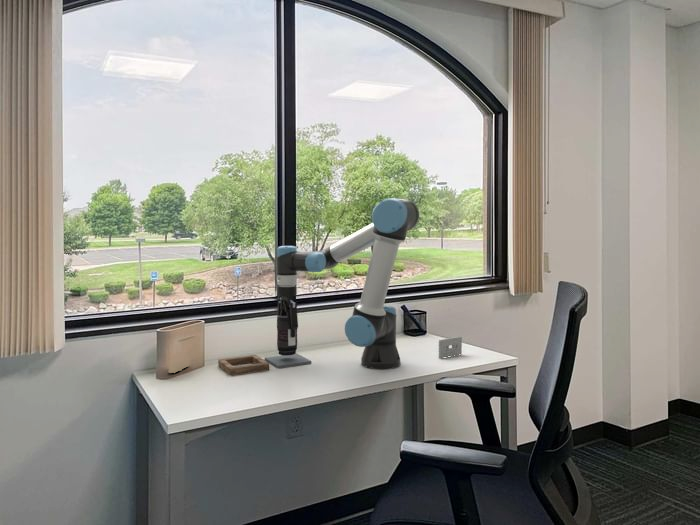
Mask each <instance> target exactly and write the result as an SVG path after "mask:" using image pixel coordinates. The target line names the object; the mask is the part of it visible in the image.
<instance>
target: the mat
mask: <svg viewBox="0 0 700 525" xmlns="http://www.w3.org/2000/svg"><path fill="white" fill-rule="evenodd" d="M264 360H265V361H266V362H268V363H269V365H272V366H273V367H275V368H276V369H282V368H283V369H284V368H289V367H297V366H304V365H310V364H311V365H312V360H310V359H308V358H306V357H304V356H303V355H301V354H299V353H298V352H296V354H294V355H289V356H283V355H275V356H267V357H264Z"/></svg>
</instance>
